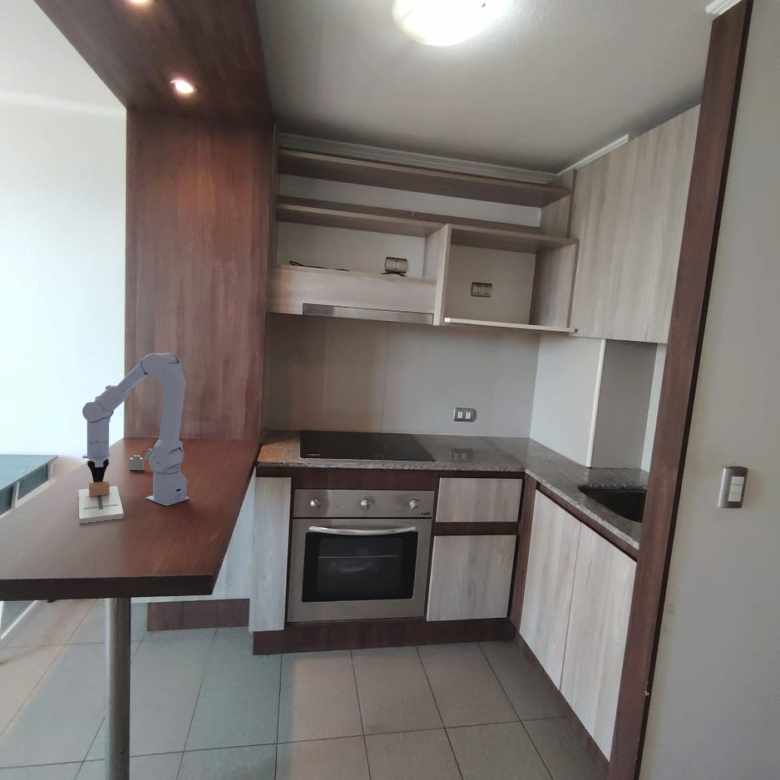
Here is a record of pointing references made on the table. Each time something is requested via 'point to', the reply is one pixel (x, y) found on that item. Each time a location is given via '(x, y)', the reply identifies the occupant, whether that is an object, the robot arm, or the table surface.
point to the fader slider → (98, 488)
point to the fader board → (100, 506)
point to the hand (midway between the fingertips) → (98, 483)
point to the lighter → (139, 461)
